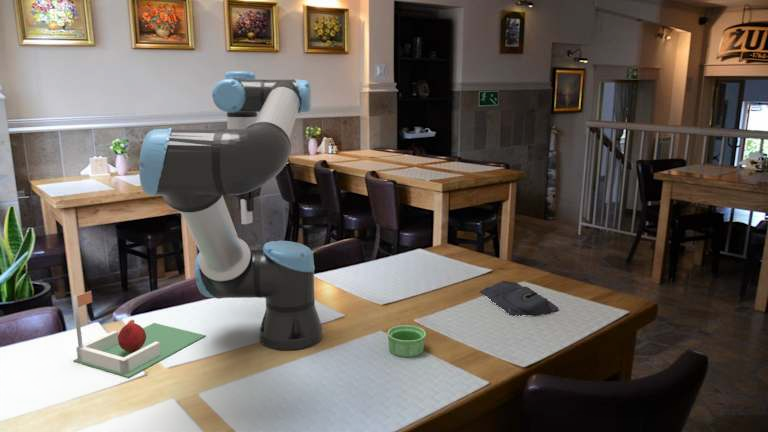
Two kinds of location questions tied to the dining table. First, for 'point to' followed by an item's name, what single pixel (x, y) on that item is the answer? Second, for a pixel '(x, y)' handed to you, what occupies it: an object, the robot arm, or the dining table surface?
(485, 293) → the dark grey lumpy slab
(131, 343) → the onion
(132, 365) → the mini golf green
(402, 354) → the ramekin
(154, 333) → the felt mat
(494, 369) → the dining table surface
